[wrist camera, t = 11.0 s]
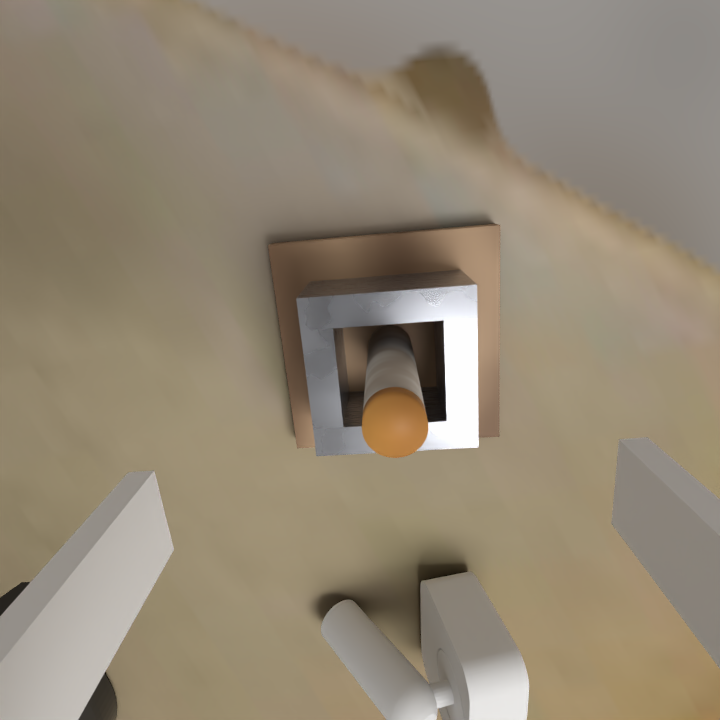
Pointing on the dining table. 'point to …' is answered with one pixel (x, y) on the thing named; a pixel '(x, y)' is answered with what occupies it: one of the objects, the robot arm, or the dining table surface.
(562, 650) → the dining table surface
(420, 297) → the link
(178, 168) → the dining table surface
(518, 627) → the dining table surface
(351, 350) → the keeper
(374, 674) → the wall hook
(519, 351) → the dining table surface
